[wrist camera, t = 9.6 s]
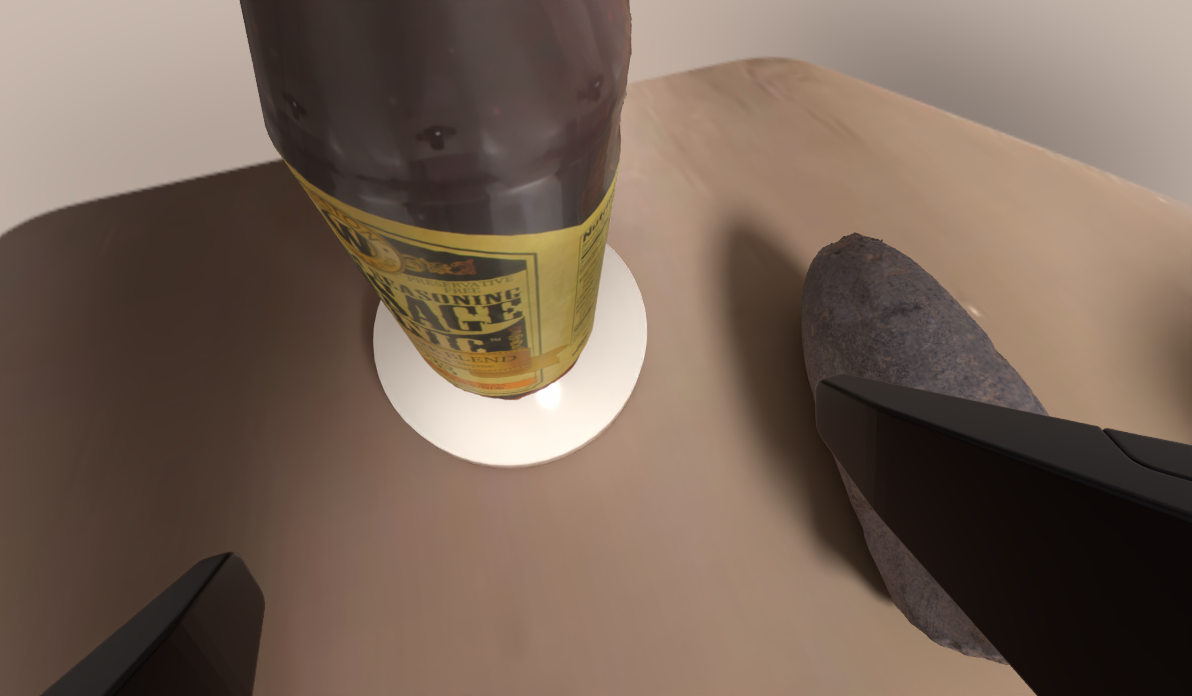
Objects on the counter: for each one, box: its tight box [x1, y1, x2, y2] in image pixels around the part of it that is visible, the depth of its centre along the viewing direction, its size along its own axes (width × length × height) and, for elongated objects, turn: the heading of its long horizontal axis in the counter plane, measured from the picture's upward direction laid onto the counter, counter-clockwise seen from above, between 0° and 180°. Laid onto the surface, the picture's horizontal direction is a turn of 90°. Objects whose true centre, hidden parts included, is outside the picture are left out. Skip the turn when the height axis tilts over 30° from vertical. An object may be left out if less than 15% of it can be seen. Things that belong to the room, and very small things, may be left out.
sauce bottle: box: [240, 0, 632, 400], centre depth 11 cm, size 7×6×20 cm
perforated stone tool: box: [801, 233, 1049, 665], centre depth 18 cm, size 15×5×7 cm, turn 14°
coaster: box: [373, 243, 647, 469], centre depth 21 cm, size 10×10×2 cm
